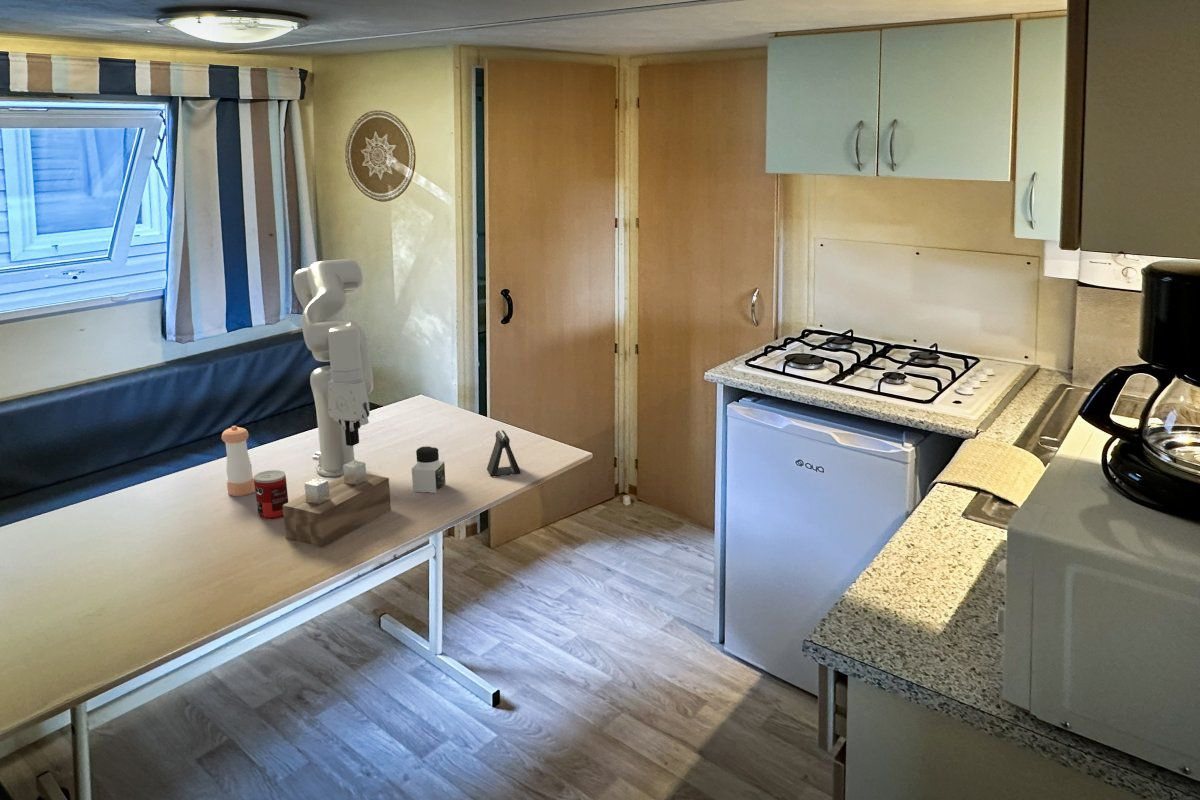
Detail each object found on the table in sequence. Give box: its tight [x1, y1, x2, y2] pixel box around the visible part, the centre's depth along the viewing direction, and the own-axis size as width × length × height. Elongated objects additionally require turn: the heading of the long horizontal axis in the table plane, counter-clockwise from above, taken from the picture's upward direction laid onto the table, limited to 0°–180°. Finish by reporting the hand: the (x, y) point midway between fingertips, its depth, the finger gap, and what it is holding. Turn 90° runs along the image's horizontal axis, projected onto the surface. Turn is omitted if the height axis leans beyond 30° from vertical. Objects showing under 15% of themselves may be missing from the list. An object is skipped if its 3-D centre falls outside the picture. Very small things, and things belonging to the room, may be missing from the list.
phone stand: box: [486, 429, 522, 478], centre depth 281 cm, size 9×6×12 cm, turn 106°
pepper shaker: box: [221, 425, 255, 497], centre depth 266 cm, size 7×7×19 cm
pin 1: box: [304, 477, 330, 506], centre depth 239 cm, size 4×4×8 cm
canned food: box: [253, 469, 289, 521], centre depth 252 cm, size 8×8×11 cm
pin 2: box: [343, 460, 367, 486], centre depth 251 cm, size 4×4×8 cm
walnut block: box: [282, 473, 392, 549], centre depth 246 cm, size 12×26×9 cm, turn 153°
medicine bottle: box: [411, 445, 446, 494], centre depth 269 cm, size 7×7×12 cm
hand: (352, 444), depth 247 cm, fingers closed
